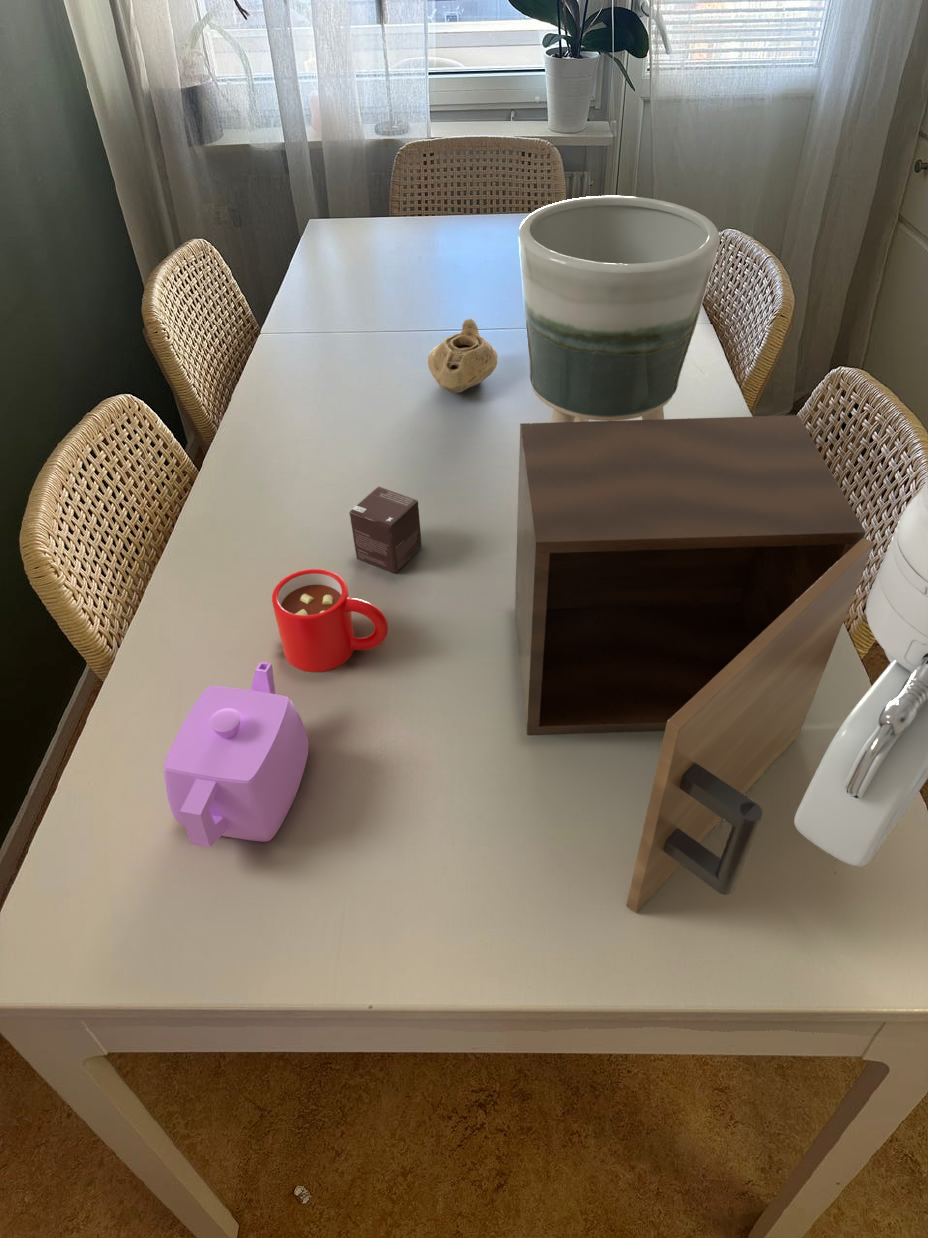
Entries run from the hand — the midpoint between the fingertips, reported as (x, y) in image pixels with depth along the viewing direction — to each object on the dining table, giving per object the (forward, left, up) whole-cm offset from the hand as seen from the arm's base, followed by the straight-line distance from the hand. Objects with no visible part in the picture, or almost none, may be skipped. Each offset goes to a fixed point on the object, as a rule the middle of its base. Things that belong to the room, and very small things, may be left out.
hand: (883, 785), depth 48 cm
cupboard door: (-2, -14, -27) cm, 30 cm away
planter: (+5, -69, -27) cm, 74 cm away
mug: (+37, -39, -27) cm, 60 cm away
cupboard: (+4, -35, -27) cm, 44 cm away
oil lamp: (+22, -97, -27) cm, 103 cm away
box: (+32, -55, -27) cm, 69 cm away
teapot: (+44, -21, -27) cm, 56 cm away
